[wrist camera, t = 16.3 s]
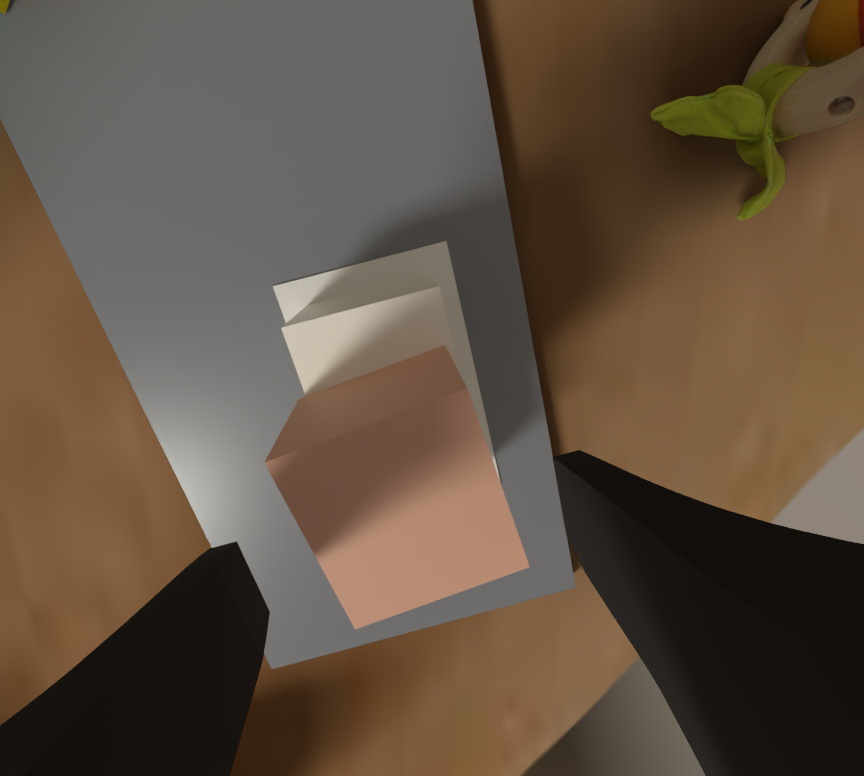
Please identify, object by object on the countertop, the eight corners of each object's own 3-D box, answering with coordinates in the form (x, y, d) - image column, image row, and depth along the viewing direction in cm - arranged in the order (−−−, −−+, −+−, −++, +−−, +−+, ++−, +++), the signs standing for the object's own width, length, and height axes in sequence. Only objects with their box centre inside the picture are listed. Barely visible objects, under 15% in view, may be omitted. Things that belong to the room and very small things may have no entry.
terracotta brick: (363, 530, 16) (355, 629, 12) (298, 399, 14) (264, 462, 10) (493, 483, 16) (529, 566, 12) (444, 344, 14) (467, 388, 10)
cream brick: (372, 500, 21) (368, 569, 16) (306, 305, 18) (281, 327, 13) (475, 472, 21) (498, 534, 16) (426, 273, 18) (439, 285, 13)
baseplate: (275, 655, 24) (271, 671, 23) (-64, -45, 14) (-93, -64, 13) (569, 576, 24) (576, 588, 23) (435, -171, 14) (438, -196, 14)
